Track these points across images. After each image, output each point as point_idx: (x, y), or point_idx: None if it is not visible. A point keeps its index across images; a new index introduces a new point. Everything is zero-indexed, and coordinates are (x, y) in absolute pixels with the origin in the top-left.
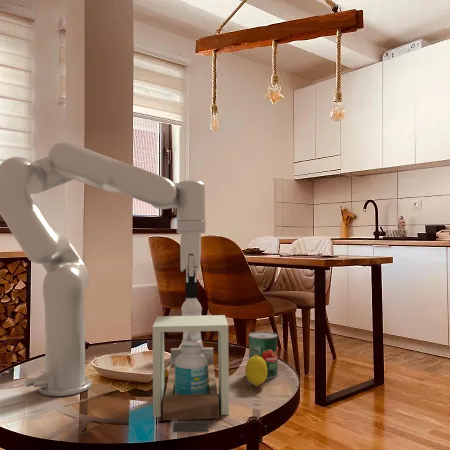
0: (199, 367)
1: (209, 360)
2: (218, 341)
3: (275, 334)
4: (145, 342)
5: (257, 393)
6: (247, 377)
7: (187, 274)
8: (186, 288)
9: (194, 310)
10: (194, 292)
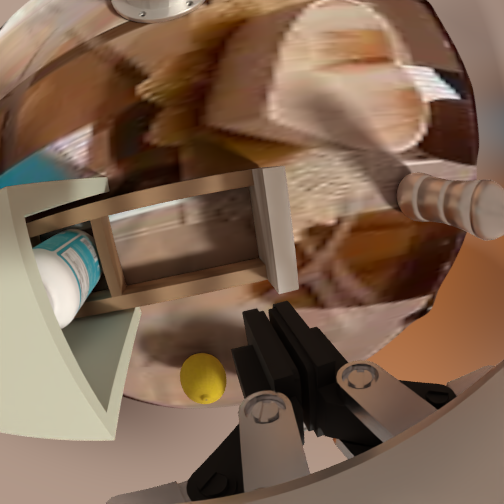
0: None
1: (268, 273)
2: (109, 370)
3: (306, 428)
4: (460, 96)
5: (163, 362)
6: (189, 357)
7: (246, 484)
8: (260, 354)
9: (475, 222)
10: (241, 388)
